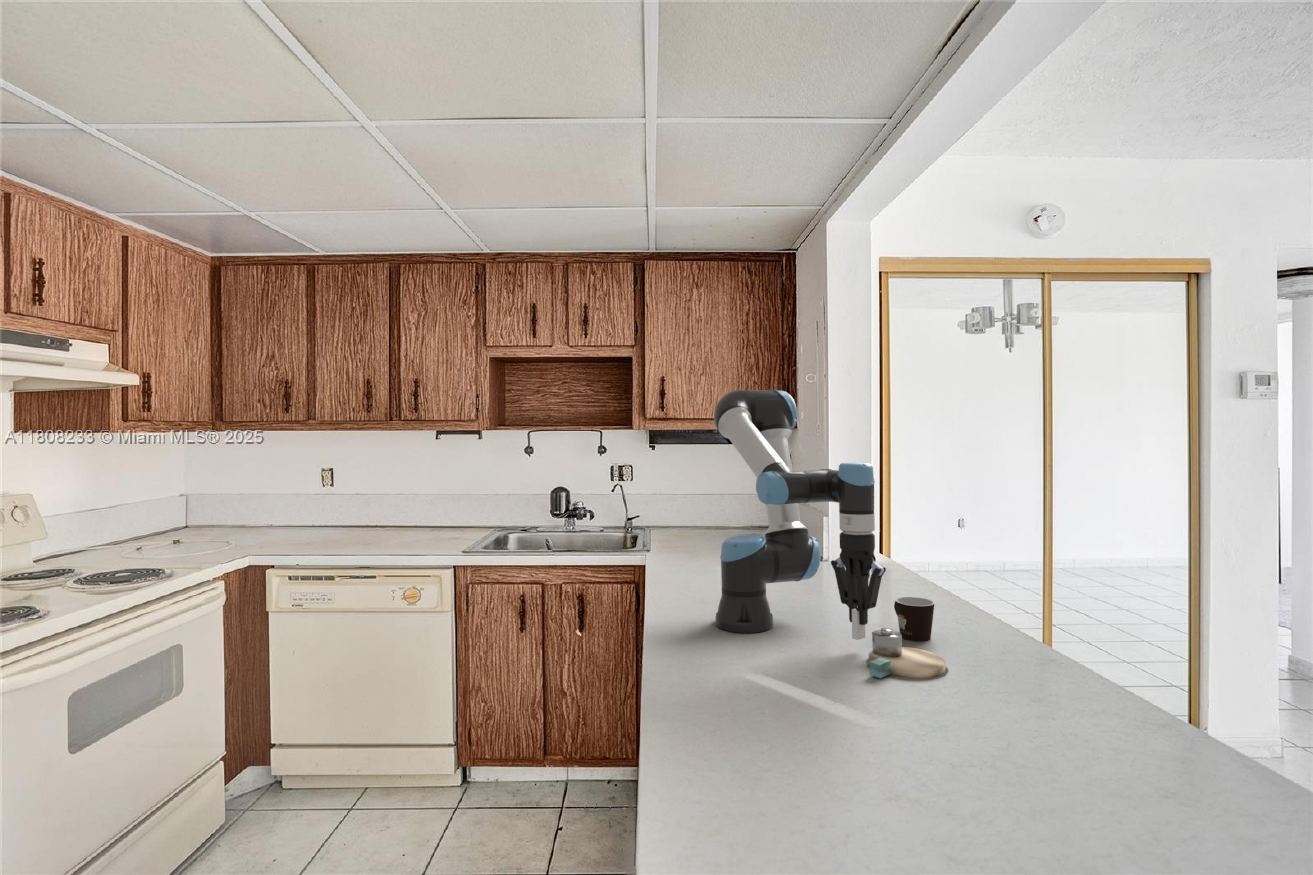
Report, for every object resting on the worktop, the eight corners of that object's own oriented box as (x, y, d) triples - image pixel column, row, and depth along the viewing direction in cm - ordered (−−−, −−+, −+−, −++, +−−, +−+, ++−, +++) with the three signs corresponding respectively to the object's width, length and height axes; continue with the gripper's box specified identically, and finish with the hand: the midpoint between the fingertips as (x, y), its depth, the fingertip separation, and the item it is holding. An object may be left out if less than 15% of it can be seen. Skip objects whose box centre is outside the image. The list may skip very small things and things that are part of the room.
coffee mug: (938, 650, 149) (938, 606, 149) (899, 648, 151) (898, 605, 151) (928, 634, 161) (927, 594, 161) (891, 633, 163) (891, 593, 163)
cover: (866, 652, 140) (866, 629, 140) (882, 646, 144) (882, 623, 144) (891, 659, 135) (891, 635, 135) (907, 653, 139) (907, 630, 139)
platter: (894, 648, 146) (894, 635, 146) (959, 666, 135) (959, 652, 135) (843, 668, 135) (842, 653, 135) (909, 689, 123) (909, 673, 123)
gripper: (822, 530, 148) (824, 634, 148) (872, 537, 137) (874, 648, 137) (842, 527, 152) (844, 628, 152) (892, 533, 142) (894, 641, 142)
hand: (858, 637), depth 145 cm, fingers closed
